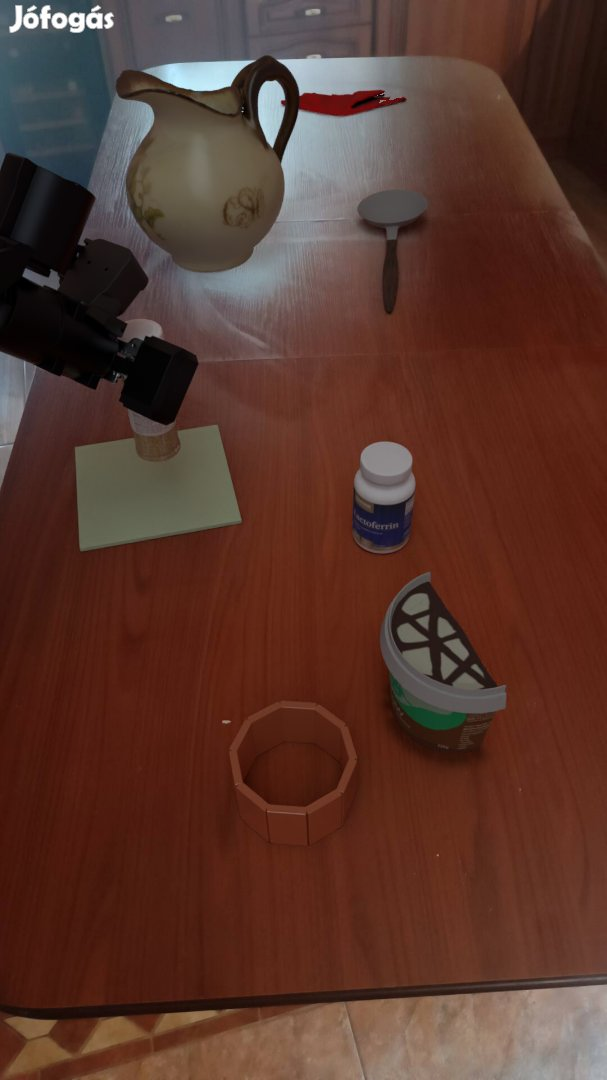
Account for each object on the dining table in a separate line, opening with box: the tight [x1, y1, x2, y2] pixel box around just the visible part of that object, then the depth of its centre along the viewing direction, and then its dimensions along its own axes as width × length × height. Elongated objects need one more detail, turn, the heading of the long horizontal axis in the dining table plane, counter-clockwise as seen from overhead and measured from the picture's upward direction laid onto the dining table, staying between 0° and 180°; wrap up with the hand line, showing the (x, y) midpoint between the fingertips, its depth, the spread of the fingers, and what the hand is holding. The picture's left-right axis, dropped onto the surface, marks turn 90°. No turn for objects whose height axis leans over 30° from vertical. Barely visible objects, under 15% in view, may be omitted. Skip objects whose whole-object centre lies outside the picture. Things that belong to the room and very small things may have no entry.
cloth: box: [280, 89, 408, 117], centre depth 164 cm, size 26×14×2 cm, turn 79°
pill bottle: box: [351, 441, 417, 555], centre depth 75 cm, size 6×6×10 cm
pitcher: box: [115, 54, 301, 273], centre depth 112 cm, size 22×24×25 cm
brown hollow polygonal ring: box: [228, 700, 358, 847], centre depth 59 cm, size 9×9×5 cm
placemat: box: [74, 424, 243, 553], centre depth 84 cm, size 16×16×1 cm
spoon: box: [356, 189, 429, 313], centre depth 118 cm, size 11×33×3 cm, turn 175°
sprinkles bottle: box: [117, 318, 181, 462], centre depth 75 cm, size 5×5×14 cm
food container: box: [379, 571, 508, 754], centre depth 61 cm, size 12×6×10 cm, turn 21°
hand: (156, 379), depth 75 cm, fingers closed on sprinkles bottle, 4 cm apart
